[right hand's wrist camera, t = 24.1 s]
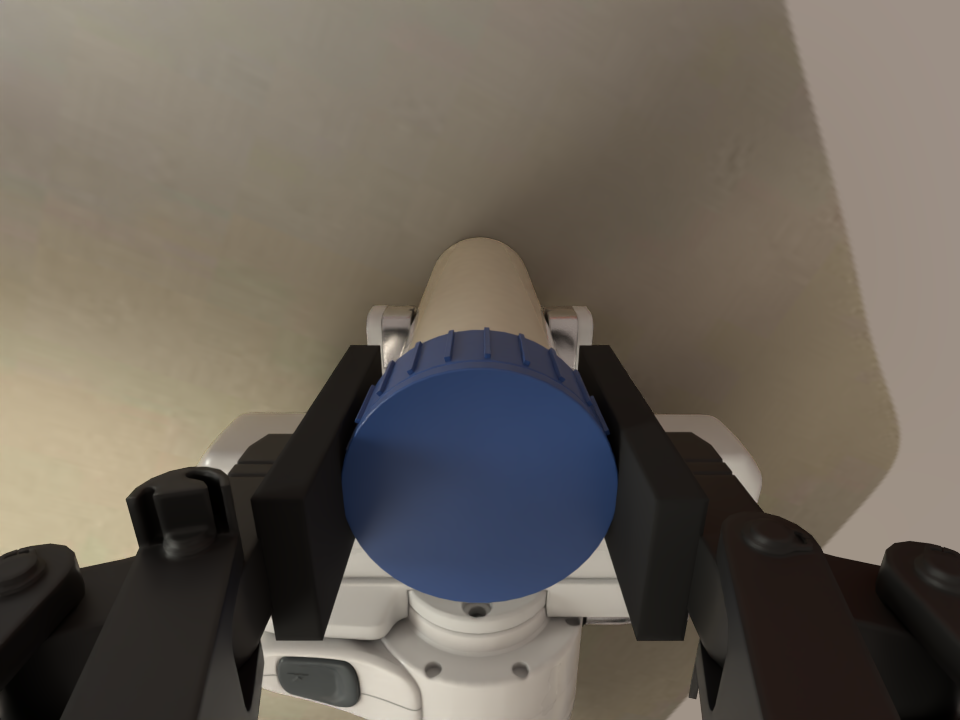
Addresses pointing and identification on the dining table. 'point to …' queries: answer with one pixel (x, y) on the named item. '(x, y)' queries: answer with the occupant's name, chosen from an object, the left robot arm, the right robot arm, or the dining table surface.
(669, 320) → the dining table surface
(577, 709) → the dining table surface
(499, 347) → the lid
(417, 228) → the dining table surface
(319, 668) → the left robot arm
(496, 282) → the jar
